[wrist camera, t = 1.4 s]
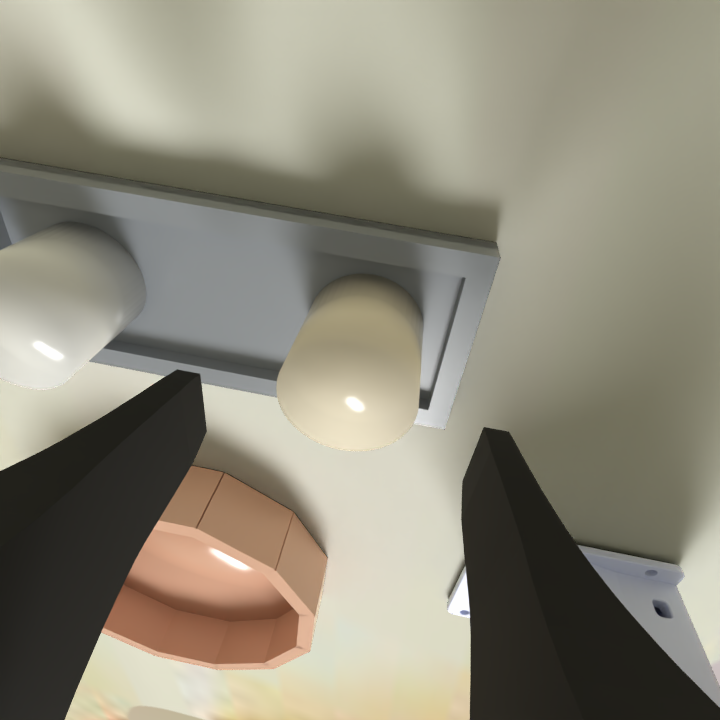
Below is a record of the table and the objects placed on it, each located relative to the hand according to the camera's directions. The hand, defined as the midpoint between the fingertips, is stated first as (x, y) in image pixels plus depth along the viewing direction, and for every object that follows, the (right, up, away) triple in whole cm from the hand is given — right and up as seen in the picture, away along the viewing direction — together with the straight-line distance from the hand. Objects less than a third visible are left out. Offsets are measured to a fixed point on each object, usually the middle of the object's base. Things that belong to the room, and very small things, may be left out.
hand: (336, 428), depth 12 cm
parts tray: (-4, +4, +5) cm, 8 cm away
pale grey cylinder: (-9, +5, +5) cm, 11 cm away
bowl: (-9, -10, +16) cm, 21 cm away
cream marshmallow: (+1, +3, +4) cm, 5 cm away
